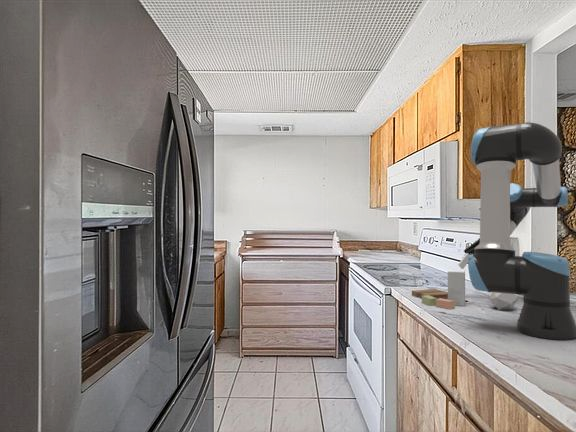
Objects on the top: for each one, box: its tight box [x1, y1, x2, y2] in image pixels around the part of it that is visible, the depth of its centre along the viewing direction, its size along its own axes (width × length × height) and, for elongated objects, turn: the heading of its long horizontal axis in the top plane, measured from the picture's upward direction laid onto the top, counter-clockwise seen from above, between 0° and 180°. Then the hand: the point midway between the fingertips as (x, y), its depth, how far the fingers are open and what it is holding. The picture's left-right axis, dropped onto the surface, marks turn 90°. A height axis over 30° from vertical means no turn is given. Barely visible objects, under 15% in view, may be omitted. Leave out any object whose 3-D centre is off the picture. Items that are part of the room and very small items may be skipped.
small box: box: [447, 268, 466, 307], centre depth 159 cm, size 8×6×13 cm
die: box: [488, 292, 519, 311], centre depth 150 cm, size 8×9×10 cm
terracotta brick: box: [435, 298, 456, 310], centre depth 153 cm, size 6×3×3 cm, turn 35°
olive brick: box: [421, 295, 437, 307], centre depth 159 cm, size 6×3×3 cm, turn 11°
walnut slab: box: [411, 288, 448, 300], centre depth 172 cm, size 12×12×2 cm
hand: (472, 268), depth 162 cm, fingers open, 13 cm apart
